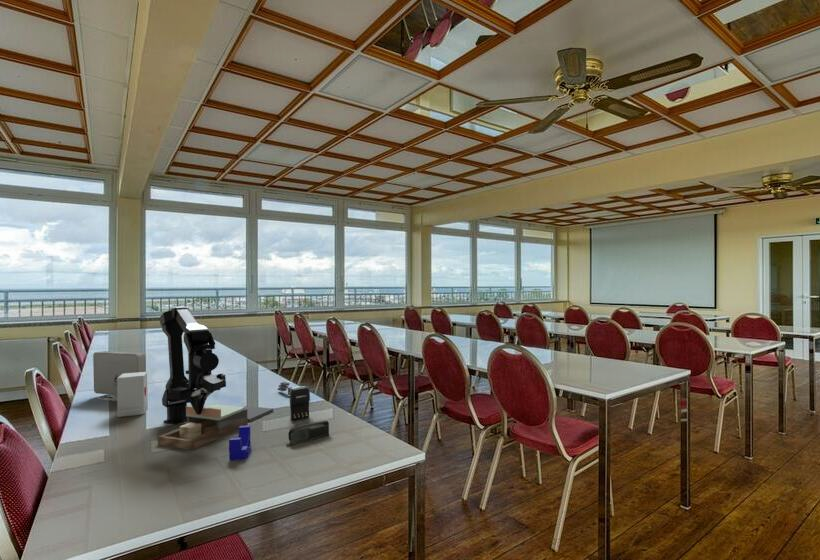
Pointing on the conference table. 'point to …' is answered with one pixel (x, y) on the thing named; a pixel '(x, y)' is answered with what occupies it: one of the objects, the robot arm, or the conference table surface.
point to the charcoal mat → (256, 412)
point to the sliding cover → (214, 411)
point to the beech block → (190, 430)
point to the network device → (114, 370)
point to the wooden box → (205, 431)
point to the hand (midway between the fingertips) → (198, 414)
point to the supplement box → (132, 394)
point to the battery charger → (299, 403)
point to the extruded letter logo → (285, 387)
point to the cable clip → (240, 444)
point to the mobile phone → (308, 432)
